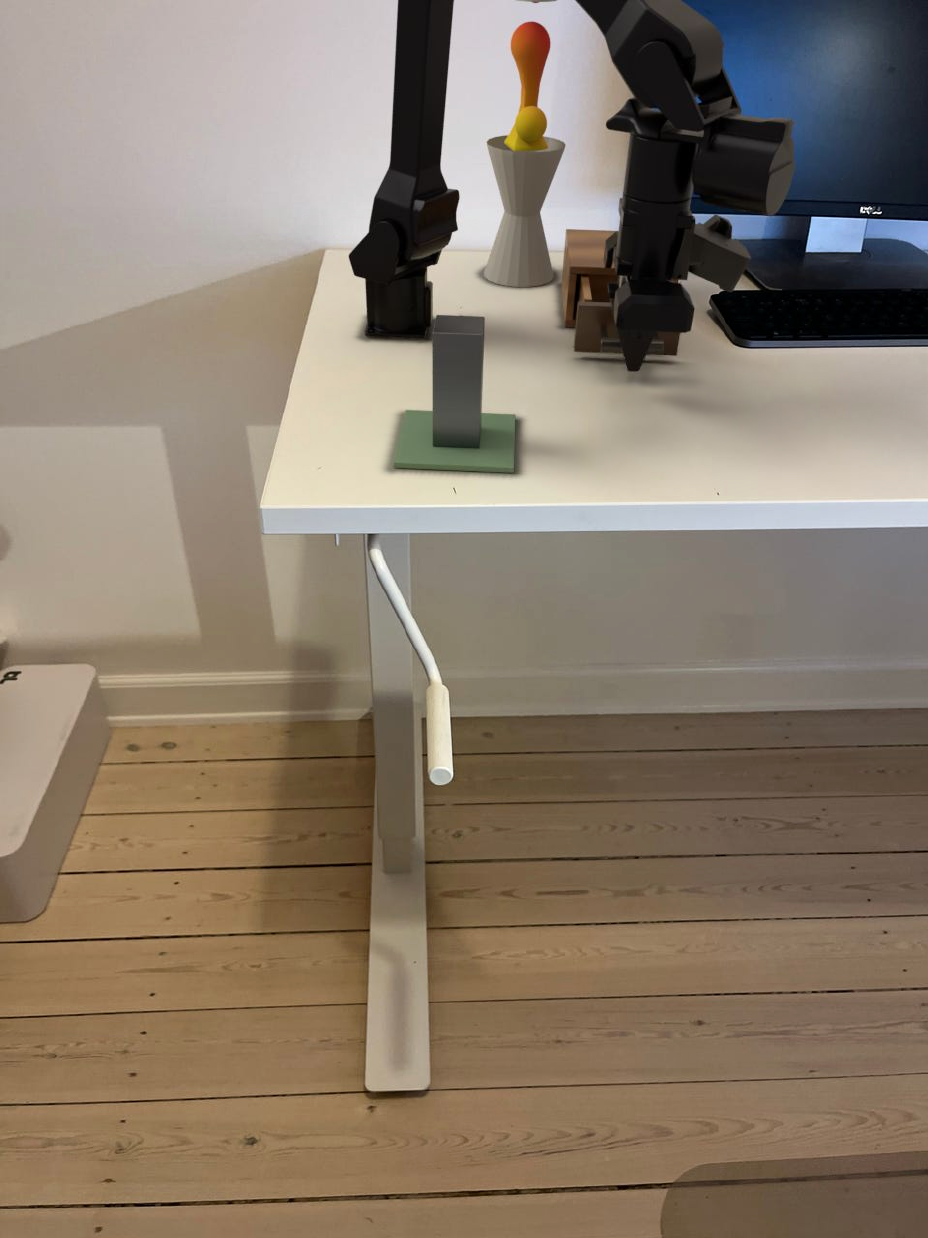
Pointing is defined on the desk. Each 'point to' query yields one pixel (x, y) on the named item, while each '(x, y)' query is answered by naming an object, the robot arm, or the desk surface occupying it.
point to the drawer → (608, 321)
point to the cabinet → (582, 265)
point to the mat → (488, 457)
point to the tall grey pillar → (457, 380)
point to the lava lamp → (524, 171)
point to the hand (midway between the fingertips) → (632, 370)
